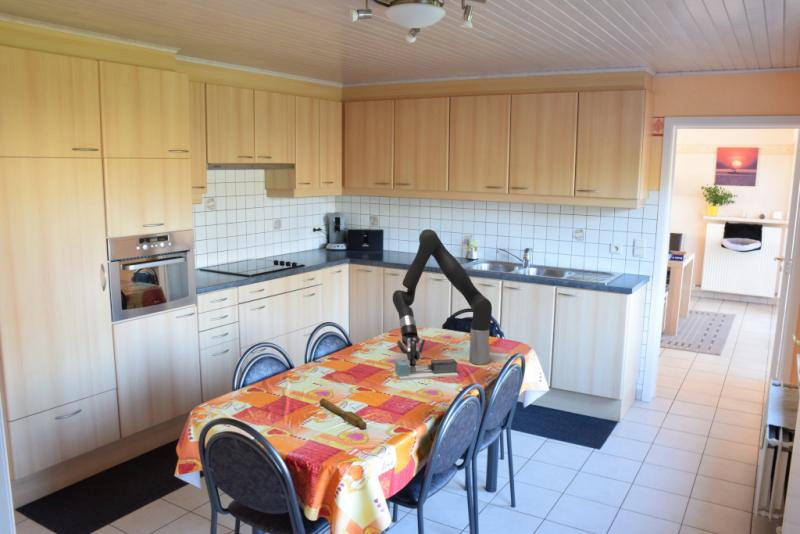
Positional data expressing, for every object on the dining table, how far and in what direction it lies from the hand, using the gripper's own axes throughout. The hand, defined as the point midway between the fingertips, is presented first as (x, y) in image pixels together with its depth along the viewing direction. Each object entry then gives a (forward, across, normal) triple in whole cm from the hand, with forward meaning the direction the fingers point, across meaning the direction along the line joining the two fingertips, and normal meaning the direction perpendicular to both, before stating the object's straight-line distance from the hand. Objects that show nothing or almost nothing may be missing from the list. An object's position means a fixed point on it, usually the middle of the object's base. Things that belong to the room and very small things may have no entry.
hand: (414, 360), depth 296 cm
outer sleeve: (+4, +15, +7) cm, 17 cm away
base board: (+4, +7, +7) cm, 11 cm away
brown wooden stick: (+34, -39, -22) cm, 57 cm away
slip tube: (+3, +3, +6) cm, 7 cm away
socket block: (+4, -5, +7) cm, 10 cm away
